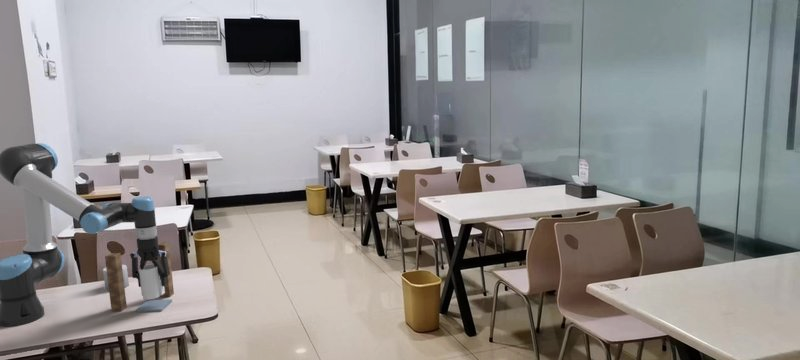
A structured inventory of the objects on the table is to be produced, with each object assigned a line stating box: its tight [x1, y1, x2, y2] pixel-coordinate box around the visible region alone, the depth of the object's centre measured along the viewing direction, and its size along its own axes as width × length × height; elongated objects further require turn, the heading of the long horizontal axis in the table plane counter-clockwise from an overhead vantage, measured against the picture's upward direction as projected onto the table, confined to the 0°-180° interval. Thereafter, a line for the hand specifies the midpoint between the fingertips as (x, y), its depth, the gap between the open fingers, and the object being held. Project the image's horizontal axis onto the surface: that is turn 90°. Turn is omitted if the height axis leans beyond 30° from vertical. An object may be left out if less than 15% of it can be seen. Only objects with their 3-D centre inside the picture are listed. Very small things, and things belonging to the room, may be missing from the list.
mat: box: [135, 299, 173, 313], centre depth 228 cm, size 10×10×1 cm
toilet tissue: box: [102, 264, 130, 291], centre depth 253 cm, size 9×13×9 cm
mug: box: [138, 263, 160, 300], centre depth 226 cm, size 10×7×12 cm, turn 166°
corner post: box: [104, 252, 128, 312], centre depth 225 cm, size 4×4×22 cm
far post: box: [158, 241, 175, 298], centre depth 238 cm, size 4×4×22 cm
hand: (153, 294), depth 227 cm, fingers closed on mug, 6 cm apart
